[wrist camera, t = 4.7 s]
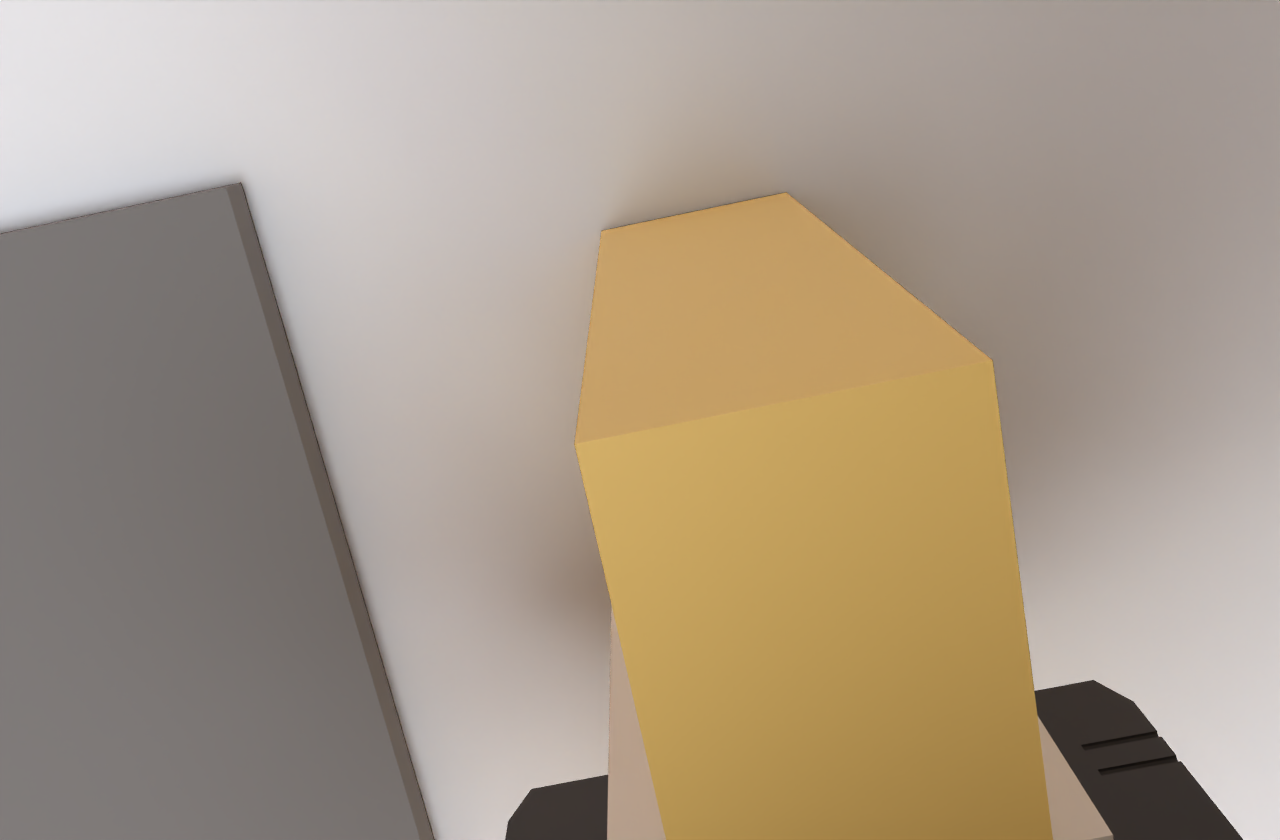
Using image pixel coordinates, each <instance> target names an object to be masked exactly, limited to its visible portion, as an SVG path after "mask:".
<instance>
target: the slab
mask: <svg viewBox="0 0 1280 840" xmlns="http://www.w3.org/2000/svg"><path fill="white" fill-rule="evenodd" d="M574 445H575V449H576V454H577V458H578V462H579V467H580V471H581V475H582V480H583V484H584V488H585V492H586V497H587V501H588V505H589V510H590V514H591V518H592V523H593V527H594V531H595V536H596V540H597V544H598V549H599V553H600V557H601V561H602V566H603V570H604V574H605V579H606V583H607V587H608V592H609V596H610V600H611V605H612V609H613V613H614V618H615V622H616V626H617V630H618V635H619V639H620V643H621V648H622V652H623V656H624V661H625V665H626V669H627V674H628V678H629V682H630V687H631V691H632V695H633V699H634V704H635V708H636V712H637V717H638V721H639V725H640V730H641V734H642V738H643V743H644V747H645V751H646V755H647V760H648V764H649V768H650V773H651V777H652V781H653V786H654V790H655V794H656V799H657V803H658V807H659V812H660V816H661V820H662V824H663V829H664V833H665V837H666V840H1053V835H1052V828H1051V820H1050V812H1049V804H1048V796H1047V788H1046V780H1045V772H1044V764H1043V756H1042V748H1041V740H1040V732H1039V724H1038V716H1037V708H1036V700H1035V692H1034V685H1033V677H1032V669H1031V661H1030V653H1029V645H1028V637H1027V629H1026V621H1025V613H1024V605H1023V597H1022V589H1021V581H1020V573H1019V565H1018V557H1017V550H1016V542H1015V534H1014V526H1013V518H1012V510H1011V502H1010V494H1009V486H1008V478H1007V470H1006V462H1005V454H1004V446H1003V438H1002V430H1001V422H1000V414H999V407H998V399H997V391H996V383H995V375H994V367H993V360H992V359H990V358H989V357H988V356H987V355H985V354H984V353H983V352H982V351H981V350H979V349H978V348H977V347H976V346H974V345H973V344H972V343H971V342H970V341H968V340H967V339H966V338H965V337H963V336H962V335H961V334H960V333H958V332H957V331H956V330H955V329H954V328H952V327H951V326H950V325H949V324H947V323H946V322H945V321H944V320H943V319H941V318H940V317H939V316H938V315H936V314H935V313H934V312H933V311H931V310H930V309H929V308H928V307H927V306H925V305H924V304H923V303H922V302H920V301H919V300H918V299H917V298H915V297H914V296H913V295H912V294H911V293H909V292H908V291H907V290H906V289H904V288H903V287H902V286H901V285H900V284H898V283H897V282H896V281H895V280H893V279H892V278H891V277H890V276H888V275H887V274H886V273H885V272H884V271H882V270H881V269H880V268H879V267H877V266H876V265H875V264H874V263H873V262H871V261H870V260H869V259H868V258H866V257H865V256H864V255H863V254H861V253H860V252H859V251H858V250H857V249H855V248H854V247H853V246H852V245H850V244H849V243H848V242H847V241H846V240H844V239H843V238H842V237H841V236H839V235H838V234H837V233H836V232H834V231H833V230H832V229H831V228H830V227H828V226H827V225H826V224H825V223H823V222H822V221H821V220H820V219H818V218H817V217H816V216H815V215H814V214H812V213H811V212H810V211H809V210H807V209H806V208H805V207H804V206H803V205H801V204H800V203H799V202H798V201H796V200H795V199H794V198H793V197H791V196H790V195H789V194H788V193H787V192H785V193H781V194H776V195H771V196H766V197H761V198H757V199H752V200H747V201H742V202H737V203H733V204H728V205H723V206H718V207H713V208H709V209H704V210H699V211H694V212H689V213H685V214H680V215H675V216H670V217H665V218H660V219H656V220H651V221H646V222H641V223H636V224H632V225H627V226H622V227H617V228H612V229H608V230H603V231H601V238H600V246H599V254H598V261H597V269H596V277H595V285H594V293H593V301H592V309H591V317H590V324H589V332H588V340H587V348H586V356H585V364H584V372H583V380H582V387H581V395H580V403H579V411H578V419H577V427H576V435H575V443H574Z"/></svg>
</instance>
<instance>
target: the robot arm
mask: <svg viewBox="0 0 1280 840" xmlns="http://www.w3.org/2000/svg"><path fill="white" fill-rule="evenodd" d="M1034 692H1035V700H1036V708H1037V716H1038V724H1039V732H1040V740H1041V748H1042V756H1043V764H1044V772H1045V780H1046V788H1047V796H1048V804H1049V812H1050V820H1051V828H1052V835H1053V840H1243V839H1242V837H1241V836H1240V835H1239V834H1238V832H1237V831H1236V830H1235V829H1234V827H1233V826H1232V825H1231V824H1230V822H1229V821H1228V820H1227V819H1226V817H1225V816H1224V815H1223V814H1222V812H1221V811H1220V810H1219V809H1218V807H1217V806H1216V805H1215V804H1214V802H1213V801H1212V800H1211V799H1210V797H1209V796H1208V795H1207V793H1206V792H1205V791H1204V790H1203V788H1202V787H1201V786H1200V785H1199V783H1198V782H1197V781H1196V780H1195V778H1194V777H1193V776H1192V775H1191V773H1190V772H1189V771H1188V770H1187V768H1186V767H1185V766H1184V765H1183V763H1182V762H1181V761H1180V762H1178V761H1177V758H1176V755H1175V753H1174V752H1173V751H1172V750H1171V748H1170V747H1169V746H1168V744H1167V743H1166V742H1165V741H1164V739H1163V738H1162V737H1158V734H1157V731H1156V729H1155V728H1154V727H1153V726H1152V724H1151V723H1150V722H1149V721H1148V719H1147V718H1146V717H1145V716H1144V714H1143V713H1142V712H1141V711H1140V709H1139V708H1138V707H1137V706H1136V704H1135V703H1134V702H1133V701H1131V700H1129V699H1128V698H1126V697H1124V696H1122V695H1120V694H1118V693H1116V692H1115V691H1113V690H1111V689H1109V688H1107V687H1105V686H1103V685H1102V684H1100V683H1098V682H1096V681H1094V680H1091V681H1086V682H1081V683H1075V684H1070V685H1065V686H1059V687H1054V688H1049V689H1043V690H1038V691H1034ZM505 840H666V837H665V833H664V829H663V824H662V820H661V816H660V812H659V807H658V803H657V799H656V794H655V790H654V786H653V781H652V777H651V773H650V768H649V764H648V760H647V755H646V751H645V747H644V743H643V738H642V734H641V730H640V725H639V721H638V717H637V712H636V708H635V704H634V699H633V695H632V691H631V687H630V682H629V678H628V674H627V669H626V665H625V661H624V656H623V652H622V648H621V643H620V639H619V635H618V630H617V626H616V622H615V618H614V613H613V609H612V605H611V652H610V708H609V763H608V775H604V776H599V777H593V778H588V779H583V780H577V781H572V782H567V783H561V784H556V785H551V786H545V787H540V788H535V789H531V790H530V792H529V793H528V795H527V796H526V797H525V799H524V800H523V802H522V803H521V804H520V806H519V807H518V809H517V810H516V811H515V813H514V814H513V816H512V817H511V818H510V820H509V821H508V825H507V832H506V839H505Z"/></svg>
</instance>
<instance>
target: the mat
mask: <svg viewBox="0 0 1280 840" xmlns="http://www.w3.org/2000/svg"><path fill="white" fill-rule="evenodd" d="M0 840H434V838H433V834H432V831H431V828H430V824H429V821H428V817H427V814H426V811H425V807H424V804H423V800H422V797H421V794H420V790H419V787H418V783H417V780H416V777H415V773H414V770H413V766H412V763H411V760H410V756H409V753H408V749H407V746H406V743H405V739H404V736H403V732H402V729H401V726H400V722H399V719H398V715H397V712H396V709H395V705H394V702H393V698H392V695H391V692H390V688H389V685H388V681H387V678H386V675H385V671H384V668H383V664H382V661H381V658H380V654H379V651H378V647H377V644H376V641H375V637H374V634H373V630H372V627H371V624H370V620H369V617H368V613H367V610H366V607H365V603H364V600H363V596H362V593H361V590H360V586H359V583H358V579H357V576H356V573H355V569H354V566H353V562H352V559H351V555H350V552H349V549H348V545H347V542H346V538H345V535H344V532H343V528H342V525H341V521H340V518H339V515H338V511H337V508H336V504H335V501H334V498H333V494H332V491H331V487H330V484H329V481H328V477H327V474H326V470H325V467H324V464H323V460H322V457H321V453H320V450H319V447H318V443H317V440H316V436H315V433H314V430H313V426H312V423H311V419H310V416H309V413H308V409H307V406H306V402H305V399H304V396H303V392H302V389H301V385H300V382H299V379H298V375H297V372H296V368H295V365H294V362H293V358H292V355H291V351H290V348H289V345H288V341H287V338H286V334H285V331H284V328H283V324H282V321H281V317H280V314H279V311H278V307H277V304H276V300H275V297H274V294H273V290H272V287H271V283H270V280H269V277H268V273H267V270H266V266H265V263H264V260H263V256H262V253H261V249H260V246H259V243H258V239H257V236H256V232H255V229H254V226H253V222H252V219H251V215H250V212H249V208H248V205H247V202H246V198H245V195H244V191H243V188H242V185H241V183H237V184H233V185H228V186H223V187H218V188H214V189H209V190H204V191H200V192H195V193H190V194H185V195H181V196H176V197H171V198H166V199H162V200H157V201H152V202H148V203H143V204H138V205H133V206H129V207H124V208H119V209H114V210H110V211H105V212H100V213H96V214H91V215H86V216H81V217H77V218H72V219H67V220H62V221H58V222H53V223H48V224H44V225H39V226H34V227H29V228H25V229H20V230H15V231H10V232H6V233H1V234H0Z"/></svg>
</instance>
